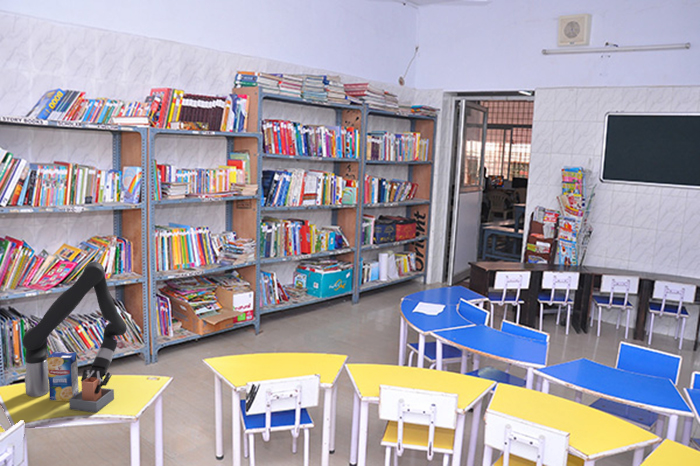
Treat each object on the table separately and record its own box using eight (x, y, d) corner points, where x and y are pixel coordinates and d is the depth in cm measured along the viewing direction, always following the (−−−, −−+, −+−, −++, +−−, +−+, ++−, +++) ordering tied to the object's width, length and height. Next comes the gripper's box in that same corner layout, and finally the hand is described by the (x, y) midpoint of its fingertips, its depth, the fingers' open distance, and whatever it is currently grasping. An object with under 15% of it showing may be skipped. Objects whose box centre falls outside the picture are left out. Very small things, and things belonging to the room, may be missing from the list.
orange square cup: (82, 401, 268) (81, 381, 267) (90, 395, 274) (89, 376, 272) (94, 402, 267) (93, 383, 266) (101, 397, 273) (100, 377, 271)
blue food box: (72, 400, 274) (70, 357, 270) (49, 400, 273) (46, 357, 269) (78, 394, 280) (76, 352, 277) (56, 393, 280) (53, 351, 276)
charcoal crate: (69, 409, 266) (69, 399, 265) (88, 395, 279) (87, 386, 278) (96, 412, 263) (96, 402, 262) (114, 398, 277) (113, 389, 276)
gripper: (86, 354, 276) (71, 388, 266) (113, 357, 274) (99, 391, 264) (93, 360, 282) (79, 393, 273) (119, 363, 280) (106, 397, 270)
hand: (89, 392), depth 268 cm, fingers closed on orange square cup, 6 cm apart
